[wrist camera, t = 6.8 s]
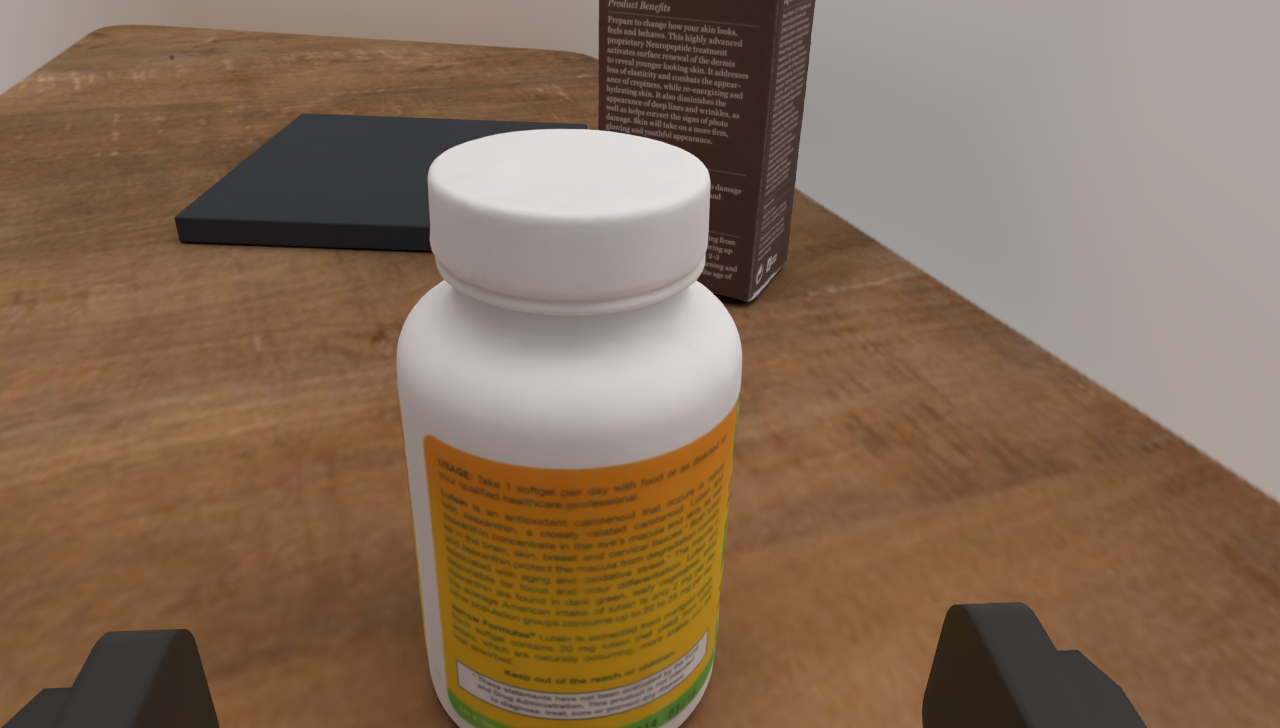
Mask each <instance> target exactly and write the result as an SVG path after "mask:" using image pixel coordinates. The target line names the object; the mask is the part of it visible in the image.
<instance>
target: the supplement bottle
mask: <svg viewBox="0 0 1280 728" xmlns="http://www.w3.org/2000/svg"><path fill="white" fill-rule="evenodd" d="M710 185H711V181H710V177H709V172H708V170H707V168H706V167H705V165H704V164H703V163H702V162H701V161H700V160H699V159H698V158H697V157H695V156H694V155H692V154H691V153H689V152H687V151H685V150H683V149H681V148H678V147H676V146H672V145H670V144H667V143H664V142H661V141H657V140H653V139H649V138H645V137H640V136H635V135H630V134H623V133H617V132H610V131H600V130H586V129H541V130H527V131H515V132H508V133H502V134H496V135H492V136H487V137H483V138H480V139H476V140H472V141H468V142H465V143H463V144H460V145H457V146H455V147H452V148H450V149H448V150H447V151H445V152H443V153H442V154H441V155H440V156H438V157H437V158H436V159H435V160H434V161H433V163H432V164H431V166H430V168H429V172H428V197H429V214H430V245H431V249H432V252H433V254H434V256H435V260H436V265H437V268H438V271H439V273H440V275H441V276H442V277H443V279H444V280H443V281H442V282H440V283H439V284H438V285H436V286H435V287H434V288H432V289H431V290H430V291H428V292H427V293H426V294H425V295H424V296H423V297H422V298H421V299H420V301H419V302H418V303H417V304H416V305H415V307H414V308H413V309H412V311H411V312H410V314H409V315H408V317H407V319H406V321H405V323H404V325H403V328H402V331H401V334H400V337H399V342H398V346H397V389H398V400H399V408H400V416H401V424H402V433H403V441H404V450H405V459H406V469H407V479H408V488H409V496H410V505H411V514H412V524H413V534H414V543H415V552H416V561H417V572H418V580H419V590H420V600H421V608H422V617H423V627H424V636H425V644H426V651H427V658H428V662H429V668H430V674H431V679H432V682H433V685H434V688H435V691H436V693H437V696H438V698H439V700H440V702H441V704H442V706H443V708H444V709H445V711H446V712H447V714H448V715H449V716H450V717H451V718H452V720H453V721H454V722H455V723H456V724H457V725H458V726H459V727H460V728H678V727H679V726H680V725H681V724H682V723H683V722H684V721H685V720H686V719H687V718H688V717H689V715H690V714H691V713H692V712H693V710H694V709H695V708H696V706H697V705H698V703H699V702H700V700H701V698H702V696H703V694H704V692H705V690H706V687H707V685H708V682H709V679H710V676H711V672H712V667H713V661H714V654H715V646H716V638H717V630H718V620H719V604H720V592H721V582H722V572H723V559H724V550H725V541H726V531H727V522H728V509H729V498H730V487H731V479H732V467H733V455H734V445H735V435H736V428H737V419H738V410H739V398H740V388H741V373H742V349H741V342H740V338H739V333H738V331H737V328H736V326H735V323H734V321H733V319H732V317H731V316H730V314H729V312H728V311H727V309H726V308H725V306H724V305H723V304H722V303H721V301H720V300H719V299H718V298H717V297H716V296H715V295H714V294H713V293H712V292H711V291H710V290H708V289H707V288H706V287H705V286H704V285H702V284H701V283H699V282H698V281H696V280H697V279H698V277H699V276H700V274H701V273H702V271H703V269H704V266H705V253H706V250H707V246H708V232H709V207H710Z"/></svg>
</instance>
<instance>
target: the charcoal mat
mask: <svg viewBox="0 0 1280 728" xmlns="http://www.w3.org/2000/svg"><path fill="white" fill-rule="evenodd" d="M541 129H586V130H587V125H586V124H565V123H539V122H513V121H486V120H460V119H433V118H407V117H380V116H354V115H327V114H301V115H300V116H298V117H297V118H296V119H295V120H293V121H292V122H291V123H290V124H289V125H287V126H286V127H285V128H284V129H282V130H281V131H280V132H279V133H277V134H276V135H275V136H274V137H273V138H271V139H270V140H269V141H268V142H266V143H265V144H264V145H263V146H261V147H260V148H259V149H258V150H257V151H255V152H254V153H253V154H252V155H250V156H249V157H248V158H247V159H246V160H244V161H243V162H242V163H241V164H239V165H238V166H237V167H236V168H234V169H233V170H232V171H231V172H230V173H228V174H227V175H226V176H225V177H223V178H222V179H221V180H220V181H218V182H217V183H216V184H215V185H214V186H212V187H211V188H210V189H209V190H207V191H206V192H205V193H204V194H202V195H201V196H200V197H199V198H198V199H196V200H195V201H194V202H193V203H191V204H190V205H189V206H188V207H186V208H185V209H184V210H183V211H182V212H180V213H179V214H178V215H177V216H175V222H176V226H177V231H178V235H179V240H180V241H181V242H200V243H227V244H253V245H280V246H306V247H332V248H359V249H385V250H411V251H432V249H431V245H430V214H429V197H428V172H429V168H430V166H431V164H432V163H433V161H434V160H435V159H436V158H437V157H438V156H440V155H441V154H442V153H443V152H445V151H447V150H448V149H450V148H452V147H455V146H457V145H460V144H463V143H465V142H468V141H472V140H476V139H480V138H483V137H487V136H492V135H496V134H502V133H508V132H515V131H527V130H541Z"/></svg>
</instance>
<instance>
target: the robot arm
mask: <svg viewBox="0 0 1280 728" xmlns="http://www.w3.org/2000/svg"><path fill="white" fill-rule="evenodd" d="M922 720H923V728H1147V727H1146V725H1145V724H1144V722H1143V721H1142V719H1141V718H1140V716H1139V714H1138V713H1137V711H1136V710H1135V708H1134V707H1133V705H1132V704H1131V702H1130V701H1129V699H1128V698H1127V696H1126V695H1125V693H1124V692H1123V690H1122V688H1121V687H1120V686H1118V685H1117V684H1116V683H1115V682H1114V681H1113V680H1112V679H1110V678H1109V677H1108V676H1107V675H1106V674H1105V673H1103V672H1102V671H1101V670H1100V669H1099V668H1098V667H1096V666H1095V665H1094V664H1093V663H1092V662H1091V661H1090V660H1088V659H1087V658H1086V657H1085V656H1084V655H1083V654H1081V653H1080V652H1079V651H1078V650H1068V651H1057V650H1056V648H1055V646H1054V645H1053V643H1052V641H1051V640H1050V638H1049V636H1048V635H1047V633H1046V631H1045V630H1044V628H1043V626H1042V625H1041V623H1040V622H1039V620H1038V618H1037V617H1036V615H1035V614H1034V612H1033V611H1032V610H1031V609H1030V608H1029V607H1028V606H1027V605H1025V604H1024V603H1021V602H1016V603H988V604H959V605H953V606H951V607H950V609H949V610H948V612H947V614H946V617H945V620H944V623H943V627H942V631H941V635H940V638H939V642H938V646H937V649H936V653H935V657H934V661H933V664H932V668H931V672H930V675H929V679H928V683H927V687H926V690H925V694H924V699H923V707H922ZM2 728H219V723H218V720H217V716H216V712H215V709H214V705H213V702H212V698H211V695H210V691H209V688H208V684H207V680H206V677H205V673H204V670H203V666H202V663H201V659H200V655H199V652H198V648H197V645H196V642H195V639H194V637H193V635H192V633H191V632H190V631H189V630H187V629H174V630H145V631H117V632H108V633H106V634H104V635H103V636H102V637H101V638H100V639H99V640H98V641H97V643H96V644H95V646H94V647H93V649H92V651H91V653H90V654H89V656H88V658H87V660H86V662H85V664H84V665H83V667H82V669H81V671H80V673H79V675H78V676H77V678H76V680H75V682H74V684H73V685H72V687H71V688H47V689H43V690H42V691H41V692H40V693H39V694H38V695H36V696H35V697H34V698H33V699H32V700H31V701H30V702H29V703H28V704H27V705H26V706H25V707H23V708H22V709H21V710H20V711H19V712H18V713H17V714H16V715H15V716H14V717H13V718H12V719H10V720H9V721H8V722H7V723H6V724H5V725H4V726H3V727H2Z"/></svg>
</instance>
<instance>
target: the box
mask: <svg viewBox="0 0 1280 728" xmlns="http://www.w3.org/2000/svg"><path fill="white" fill-rule="evenodd" d="M814 8H815V0H599V118H598V130H600V131H610V132H617V133H623V134H630V135H635V136H640V137H645V138H649V139H653V140H657V141H661V142H664V143H667V144H670V145H672V146H676V147H678V148H681V149H683V150H685V151H687V152H689V153H691V154H692V155H694V156H695V157H697V158H698V159H699V160H700V161H701V162H702V163H703V164H704V165H705V167H706V168H707V170H708V172H709V177H710V181H711V185H710V207H709V232H708V246H707V250H706V253H705V266H704V269H703V271H702V273H701V274H700V276H699V277H698V279H697V280H696V281H698V282H699V283H701V284H702V285H704V286H705V287H706V288H707V289H708V290H710V291H711V292H712V293H715V294H719V295H723V296H727V297H732V298H735V299H739V300H743V301H745V302H750V301H752V300H753V299H756V298H757V297H758V296H759V294H760V292H762V290H763V289H764V288H765V287H767V285H768V284H769V282H770V281H771V279H772V278H773V277H774V276H775V275H776V273H777V272H778V271H779V270H780V268H781V267H782V266H783V264H784V263H785V261H786V260H787V252H788V243H789V234H790V223H791V214H792V206H793V196H794V187H795V180H796V171H797V160H798V149H799V141H800V133H801V126H802V118H803V110H804V99H805V92H806V81H807V71H808V64H809V52H810V44H811V32H812V24H813V16H814V15H813V14H814Z"/></svg>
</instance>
